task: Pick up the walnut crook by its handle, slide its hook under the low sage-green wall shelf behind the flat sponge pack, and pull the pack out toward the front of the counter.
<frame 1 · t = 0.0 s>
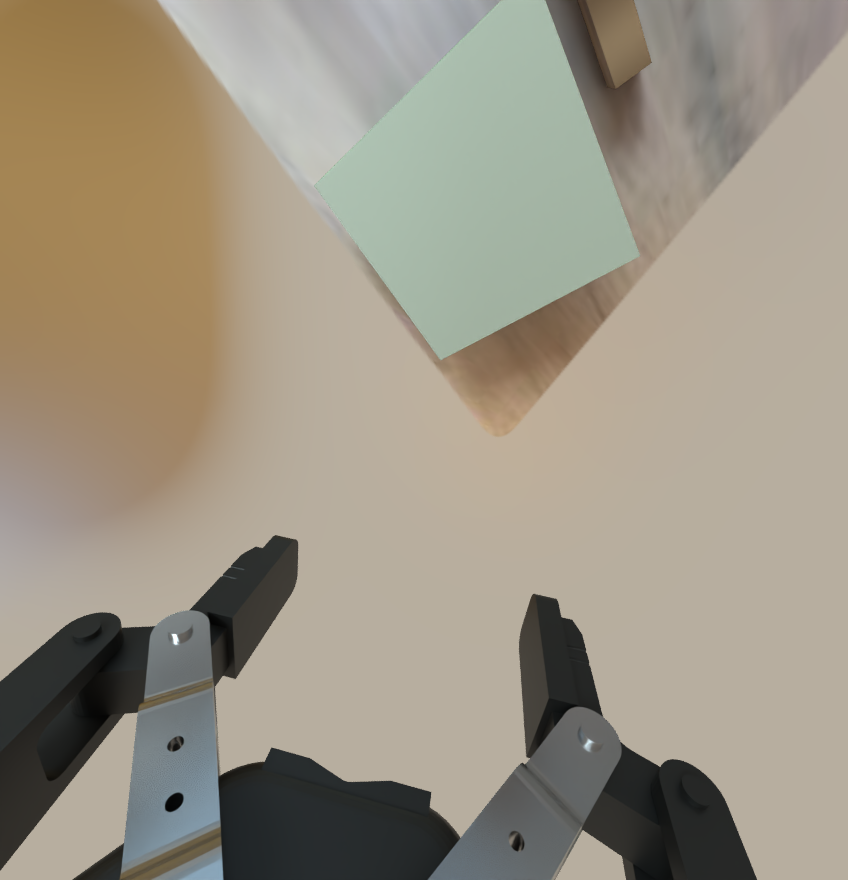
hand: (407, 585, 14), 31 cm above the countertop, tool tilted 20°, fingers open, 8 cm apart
wall shelf: (494, 184, 32), on the countertop
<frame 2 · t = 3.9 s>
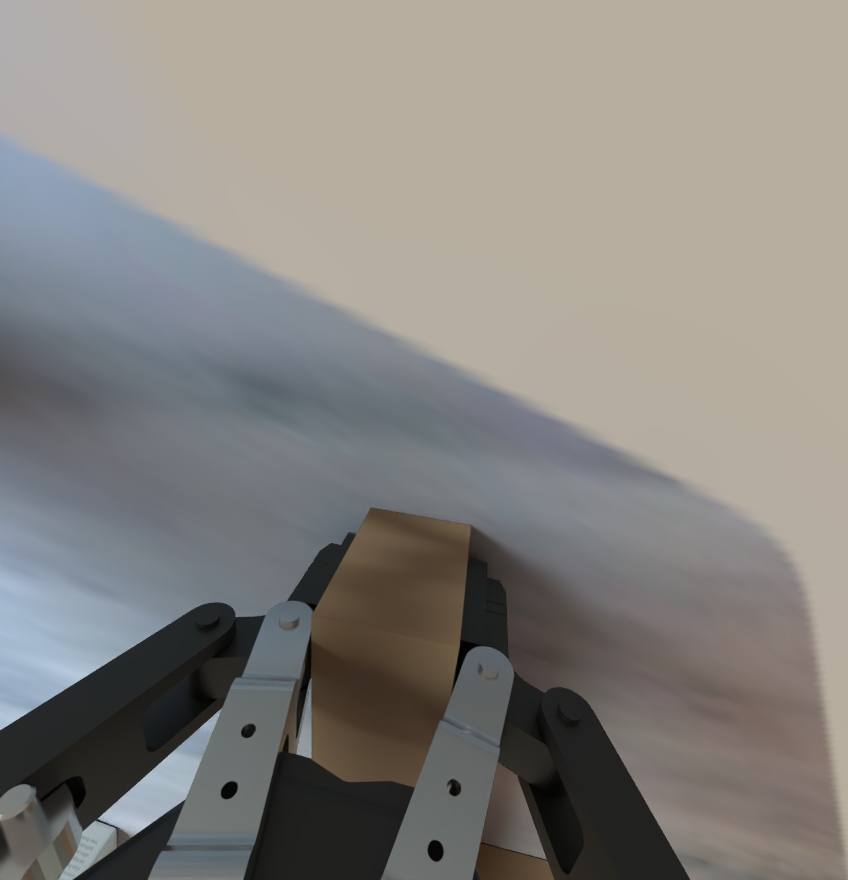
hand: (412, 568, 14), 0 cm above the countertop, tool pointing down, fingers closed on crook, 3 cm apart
skincare box: (81, 823, 27), on the countertop
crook: (397, 712, 18), on the countertop, touching gripper
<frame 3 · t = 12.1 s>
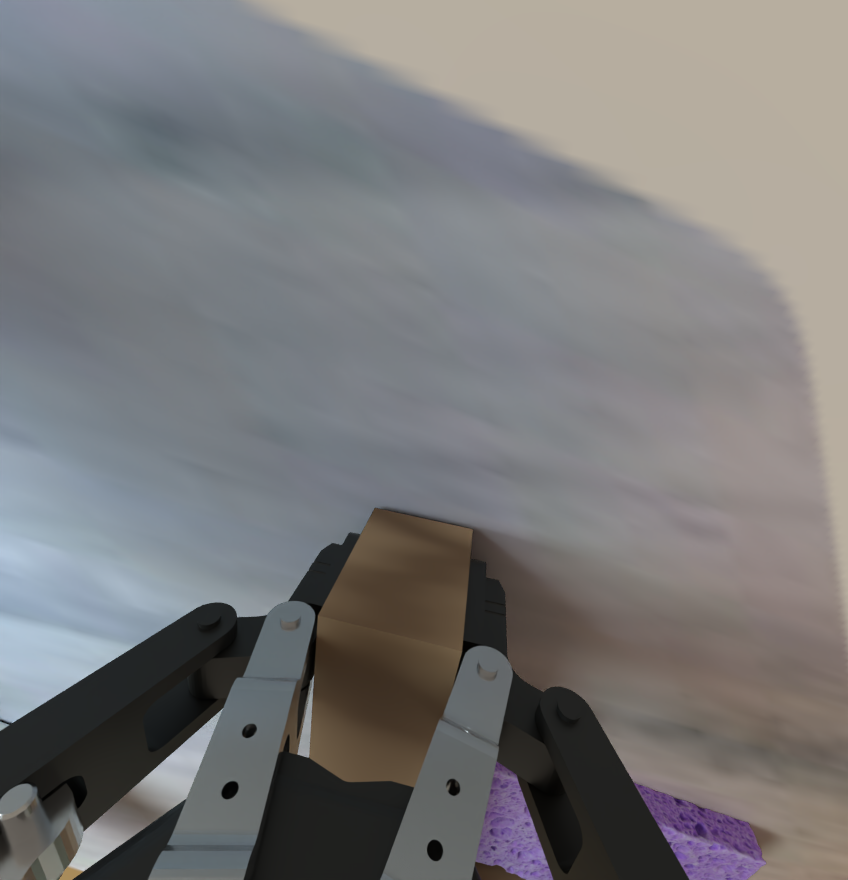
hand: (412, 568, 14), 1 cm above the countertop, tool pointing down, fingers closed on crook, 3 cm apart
sponges: (576, 802, 19), on the countertop
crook: (390, 707, 18), on the countertop, touching gripper
when the fingers open (1 cm above the countertop, at t = 14.3 s): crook stays where it is, on the countertop.
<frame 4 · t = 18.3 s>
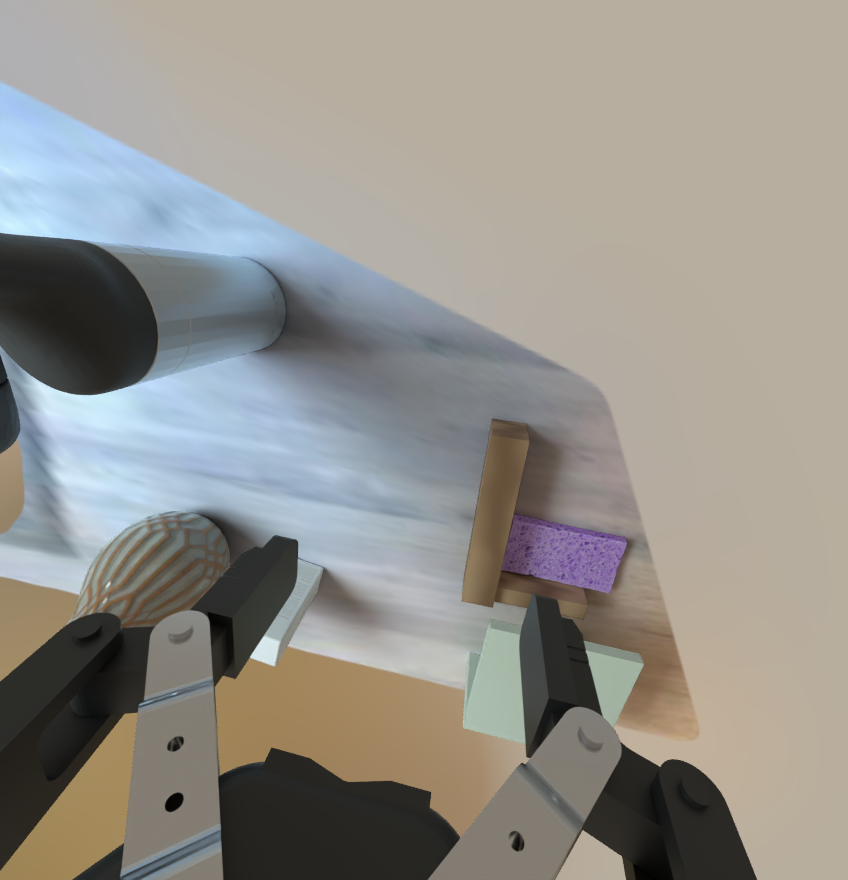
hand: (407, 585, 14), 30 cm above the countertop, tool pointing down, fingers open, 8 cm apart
sponges: (560, 547, 47), on the countertop
skincare box: (301, 570, 54), on the countertop
vase: (204, 536, 55), on the countertop
wall shelf: (538, 627, 51), on the countertop
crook: (492, 504, 46), on the countertop
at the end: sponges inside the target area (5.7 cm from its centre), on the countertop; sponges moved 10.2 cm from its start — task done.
